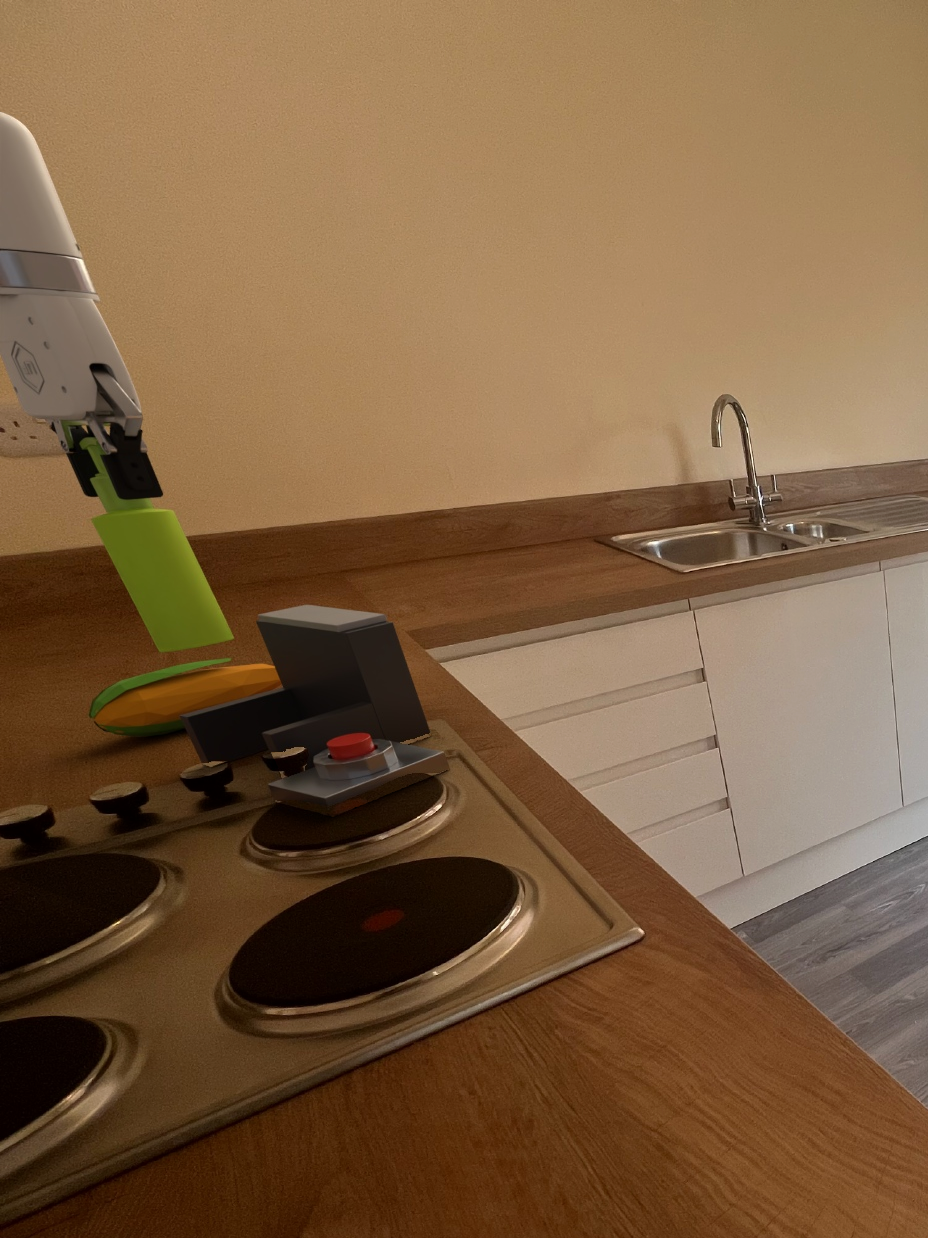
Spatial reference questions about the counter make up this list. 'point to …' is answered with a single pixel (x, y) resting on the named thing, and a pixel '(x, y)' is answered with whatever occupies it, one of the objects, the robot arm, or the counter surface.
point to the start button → (350, 746)
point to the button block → (357, 773)
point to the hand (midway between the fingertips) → (124, 495)
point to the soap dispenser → (157, 567)
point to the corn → (175, 696)
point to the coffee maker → (317, 688)
